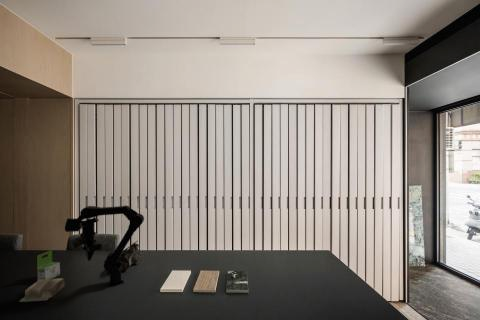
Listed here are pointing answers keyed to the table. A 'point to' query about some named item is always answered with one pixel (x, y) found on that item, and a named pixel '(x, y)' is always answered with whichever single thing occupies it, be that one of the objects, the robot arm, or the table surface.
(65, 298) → the table surface
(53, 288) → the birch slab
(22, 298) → the mat
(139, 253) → the hollow geode rock
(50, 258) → the ink box
